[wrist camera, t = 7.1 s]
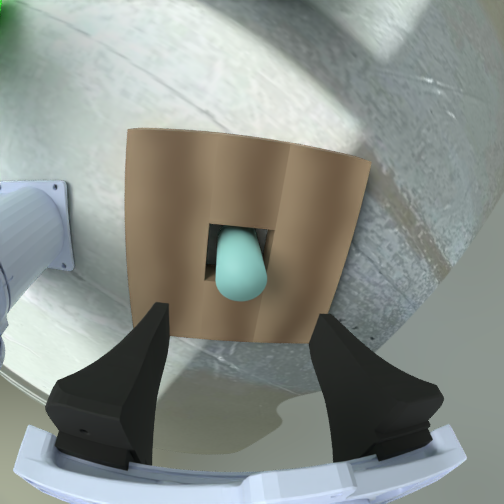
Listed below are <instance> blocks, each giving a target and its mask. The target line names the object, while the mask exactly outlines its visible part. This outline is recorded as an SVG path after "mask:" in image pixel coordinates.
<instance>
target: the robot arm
mask: <svg viewBox="0 0 504 504" xmlns="http://www.w3.org/2000/svg"><path fill="white" fill-rule="evenodd" d="M55 184H56V185H57V187H58V188H57V189H56V188H55ZM1 187H2V188H1ZM63 263H64V264H66V266H65V265H64V264H63ZM74 266H75V265H74V258H73V251H72V244H71V235H70V226H69V215H68V200H67V185H66V183H65V181H63V180H24V181H0V369H1V367H2V365H3V361H4V357H5V345H4V341H3V339H2V337H1V335H2V334H3V332H4V331H5V330H6V328H7V327H8V321H7V313H8V312H9V311H10V309H11V308H12V307H13V306H14V304H15V303H16V302H17V301H18V300H19V298H20V297H21V296H22V295H23V294H24V292H25V291H26V290H27V289H28V288H29V287H30V285H31V284H32V283H33V282H34V281H35V280H36V279H37V278H38V276H39V275H40V274H41V273H42V272H43V271H44V270H45V269H46V268H52V269H59V270H66V271H72V270H73V269H74ZM169 339H170V325H169V303H161V302H155V303H154V304H153V306H152V307H151V308H150V310H149V311H148V312H147V313H146V315H145V316H144V317H143V318H142V320H141V321H140V322H139V323H138V324H137V325H136V326H135V328H134V329H133V330H132V331H131V332H130V333H129V334H128V335H127V336H126V337H125V338H124V339H123V340H122V341H121V342H120V343H119V344H117V345H116V346H115V347H114V348H113V349H112V350H110V351H109V352H108V353H106V354H105V355H104V356H102V357H101V358H100V359H98V360H97V361H95V362H94V363H92V364H90V365H89V366H87V367H85V368H84V369H82V370H80V371H78V372H76V373H74V374H72V375H69V376H67V377H65V378H62V379H60V380H57V382H56V384H55V385H54V387H53V389H52V391H51V393H50V396H49V398H48V401H47V403H46V406H45V409H46V412H47V414H48V416H49V417H50V419H51V420H52V421H53V423H54V424H55V426H56V427H57V428H58V430H59V433H58V436H57V437H56V436H55V435H53V434H52V433H50V432H48V431H45V430H42V429H40V428H37V427H35V426H32V425H28V427H27V430H26V433H25V435H24V438H23V441H22V444H21V447H20V450H19V453H18V456H17V459H16V463H15V466H14V469H13V471H14V472H15V473H16V474H17V475H19V476H20V477H21V478H23V479H24V480H25V481H27V482H28V483H30V484H31V485H32V486H34V487H35V488H37V489H39V490H40V491H42V492H44V493H46V494H48V495H51V496H53V497H55V498H58V499H60V500H63V501H65V502H68V503H70V504H387V503H389V502H392V501H394V500H397V499H399V498H401V497H404V496H406V495H408V494H410V493H412V492H415V491H417V490H419V489H421V488H423V487H425V486H427V485H429V484H431V483H433V482H435V481H437V480H439V479H440V478H442V477H443V476H445V475H446V474H448V473H449V472H450V471H452V470H453V469H454V468H456V467H457V466H459V465H460V464H461V463H462V462H464V461H465V460H466V459H467V457H466V455H465V453H464V451H463V449H462V447H461V446H460V443H459V441H458V439H457V437H456V435H455V433H454V432H453V430H452V428H451V426H450V424H447V425H445V426H443V427H440V428H437V429H435V430H433V431H431V432H429V430H428V428H429V427H430V423H429V421H428V420H429V418H431V417H432V416H433V415H434V413H435V412H436V411H437V410H438V409H439V408H440V406H441V405H442V403H443V401H444V397H443V395H442V393H441V392H440V390H439V388H438V387H437V385H434V384H432V383H429V382H426V381H423V380H421V379H418V378H416V377H414V376H411V375H409V374H407V373H405V372H403V371H401V370H400V369H398V368H396V367H394V366H393V365H391V364H389V363H388V362H386V361H385V360H383V359H382V358H381V357H379V356H378V355H376V354H375V353H374V352H372V351H371V350H370V349H369V348H368V347H366V346H365V345H364V344H363V343H362V342H361V341H359V340H358V339H357V338H356V337H355V336H354V335H353V334H352V333H351V332H350V331H349V330H348V329H347V328H346V327H345V326H343V325H342V324H341V323H340V322H339V321H338V320H337V319H336V318H335V317H334V316H333V315H332V314H319V316H318V319H317V322H316V325H315V328H314V331H313V333H312V336H311V339H310V341H309V348H310V354H311V359H312V363H313V366H314V369H315V372H316V375H317V378H318V381H319V384H320V387H321V390H322V393H323V395H324V399H325V403H326V408H327V413H328V418H329V424H330V431H331V440H332V448H333V463H329V464H323V465H317V466H309V467H301V468H292V469H282V470H272V471H262V472H209V471H193V470H181V469H172V468H164V467H157V466H152V448H153V431H154V419H155V410H156V401H157V395H158V390H159V386H160V382H161V378H162V374H163V370H164V366H165V362H166V358H167V354H168V346H169Z"/></svg>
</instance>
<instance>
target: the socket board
mask: <svg viewBox="0 0 504 504" xmlns="http://www.w3.org/2000/svg"><path fill="white" fill-rule="evenodd" d="M370 167H371V162H370V161H367V160H365V159H362V158H359V157H356V156H352V155H348V154H344V153H339V152H335V151H330V150H326V149H321V148H316V147H311V146H306V145H301V144H296V143H290V142H284V141H278V140H272V139H266V138H259V137H252V136H244V135H236V134H227V133H218V132H207V131H196V130H181V129H163V128H134V129H128V132H127V146H126V164H125V240H126V259H127V273H128V285H129V295H130V305H131V313H132V321H133V328H135V326H136V325H137V324H138V323H139V322H140V321H141V320H142V318H143V317H144V316H145V315H146V313H147V312H148V311H149V310H150V308H151V307H152V306H153V304H154V303H155V302H161V303H169V325H170V336H177V337H186V338H197V339H209V340H223V341H239V342H261V343H309V341H310V339H311V336H312V333H313V331H314V328H315V325H316V322H317V319H318V316H319V314H328V311H329V309H330V306H331V303H332V300H333V297H334V294H335V291H336V288H337V285H338V282H339V279H340V276H341V273H342V270H343V267H344V264H345V261H346V257H347V254H348V251H349V247H350V244H351V241H352V237H353V234H354V230H355V227H356V223H357V219H358V216H359V212H360V208H361V204H362V200H363V196H364V192H365V188H366V184H367V180H368V176H369V171H370ZM210 224H220V225H230V226H240V227H250V228H259V229H268V230H267V236H266V242H265V247H264V253H263V262H264V266H265V270H266V274H267V284H266V286H265V289H264V290H263V291H262V293H261V294H259V295H258V296H257V297H255V298H253V299H251V300H248V301H234V300H230V299H228V298H226V297H225V296H223V295H222V294H221V293H220V292H219V290H218V288H217V286H216V265H211V264H206V259H207V247H208V236H209V226H210Z"/></svg>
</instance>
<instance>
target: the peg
mask: <svg viewBox="0 0 504 504" xmlns="http://www.w3.org/2000/svg"><path fill="white" fill-rule="evenodd" d="M266 284H267V274H266V270H265V266H264V262H263V258H262V254H261V250H260V246H259V242H258V238H257V234H256V231H255V229H254V228H250V227H240V226H230V225H224V226H223V227H222V228H221V229H220V231H219V234H218V243H217V261H216V286H217V288H218V290H219V292H220V293H221V294H222V295H223V296H225V297H226V298H228V299H230V300H234V301H248V300H251V299H253V298H255V297H257V296H258V295H259V294H261V293H262V291H263V290H264V289H265V286H266Z"/></svg>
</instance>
